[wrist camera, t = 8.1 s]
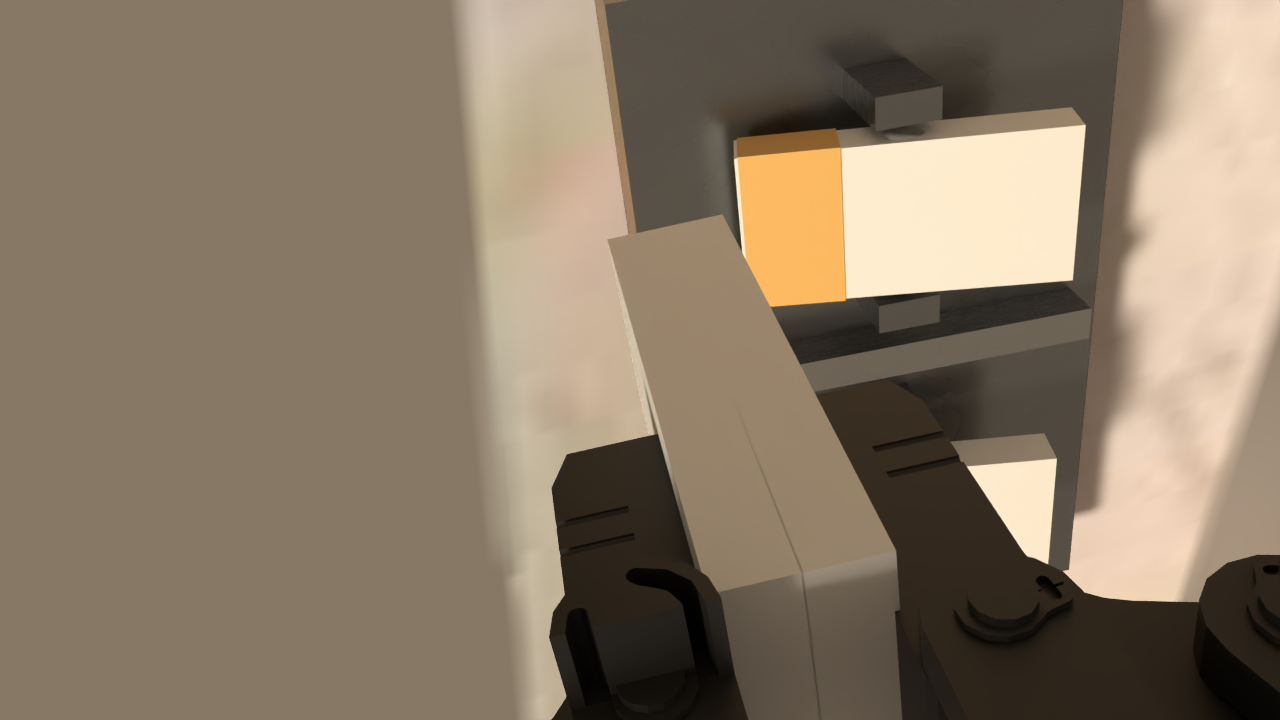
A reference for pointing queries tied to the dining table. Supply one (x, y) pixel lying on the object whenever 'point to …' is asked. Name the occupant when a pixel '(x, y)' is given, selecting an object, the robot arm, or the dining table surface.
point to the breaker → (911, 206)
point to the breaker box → (882, 99)
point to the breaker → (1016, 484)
